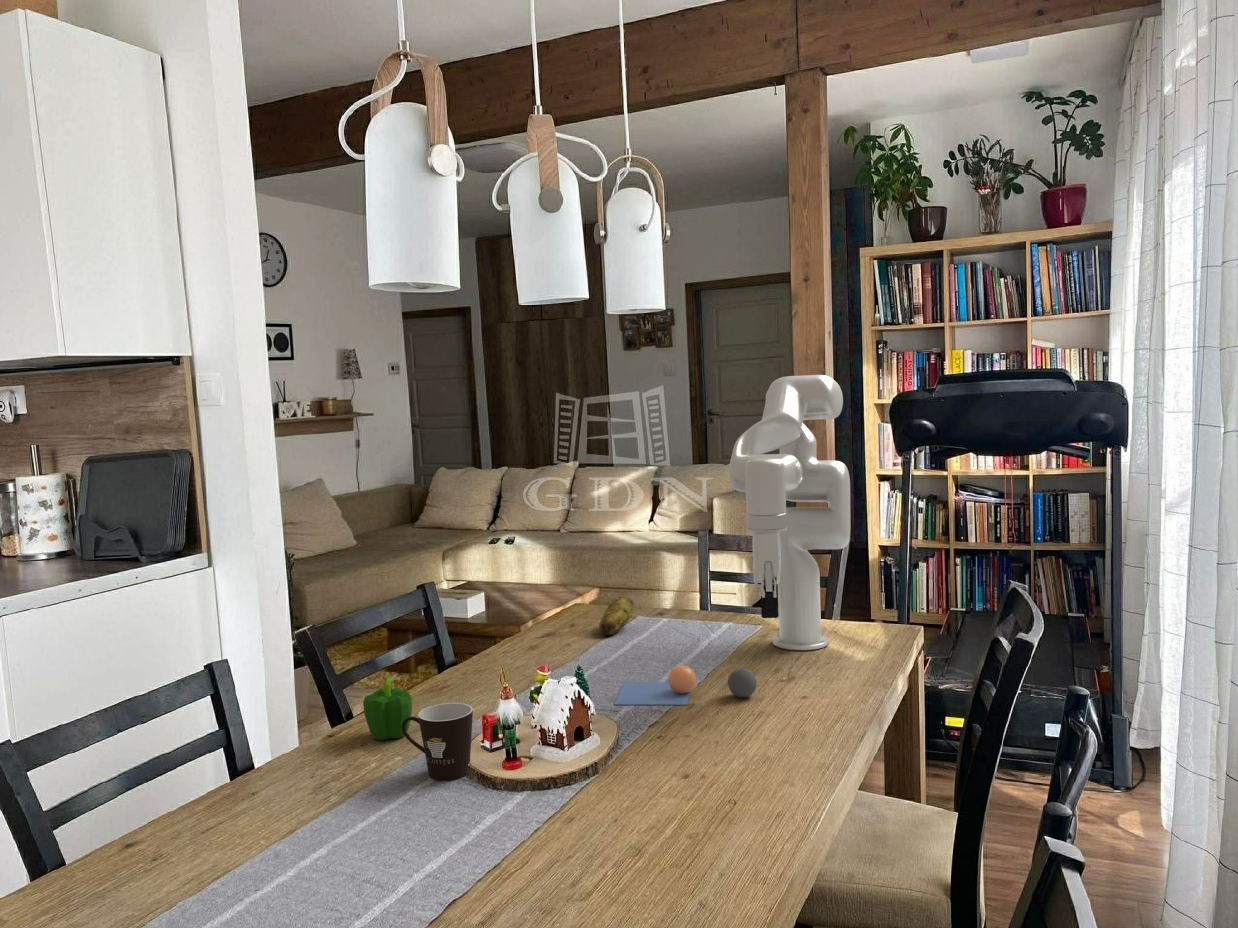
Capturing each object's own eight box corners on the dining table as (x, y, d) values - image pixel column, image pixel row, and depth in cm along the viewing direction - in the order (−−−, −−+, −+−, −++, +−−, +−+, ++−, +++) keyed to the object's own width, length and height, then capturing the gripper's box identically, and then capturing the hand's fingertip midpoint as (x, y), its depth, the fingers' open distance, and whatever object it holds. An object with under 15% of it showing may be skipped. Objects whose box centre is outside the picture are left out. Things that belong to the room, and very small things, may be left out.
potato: (586, 634, 233) (584, 602, 233) (621, 623, 243) (620, 593, 242) (610, 639, 228) (608, 606, 227) (645, 628, 237) (644, 597, 236)
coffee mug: (487, 770, 150) (484, 709, 149) (443, 788, 144) (439, 725, 143) (443, 753, 158) (440, 696, 157) (400, 770, 152) (396, 710, 151)
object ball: (702, 675, 186) (683, 694, 187) (682, 656, 186) (663, 675, 187) (700, 683, 181) (681, 703, 181) (679, 663, 181) (660, 683, 182)
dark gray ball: (756, 663, 182) (750, 685, 184) (728, 661, 181) (723, 683, 183) (762, 681, 177) (756, 704, 179) (733, 680, 176) (728, 702, 179)
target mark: (624, 682, 193) (624, 681, 193) (692, 682, 191) (692, 681, 191) (614, 704, 179) (614, 703, 179) (687, 705, 177) (687, 704, 177)
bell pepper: (398, 746, 162) (394, 689, 162) (357, 742, 165) (353, 687, 164) (423, 729, 170) (419, 675, 170) (383, 726, 173) (380, 673, 172)
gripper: (747, 517, 187) (750, 608, 188) (746, 528, 172) (750, 626, 174) (785, 516, 186) (788, 607, 187) (787, 527, 171) (791, 626, 172)
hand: (769, 616), depth 180 cm, fingers closed
